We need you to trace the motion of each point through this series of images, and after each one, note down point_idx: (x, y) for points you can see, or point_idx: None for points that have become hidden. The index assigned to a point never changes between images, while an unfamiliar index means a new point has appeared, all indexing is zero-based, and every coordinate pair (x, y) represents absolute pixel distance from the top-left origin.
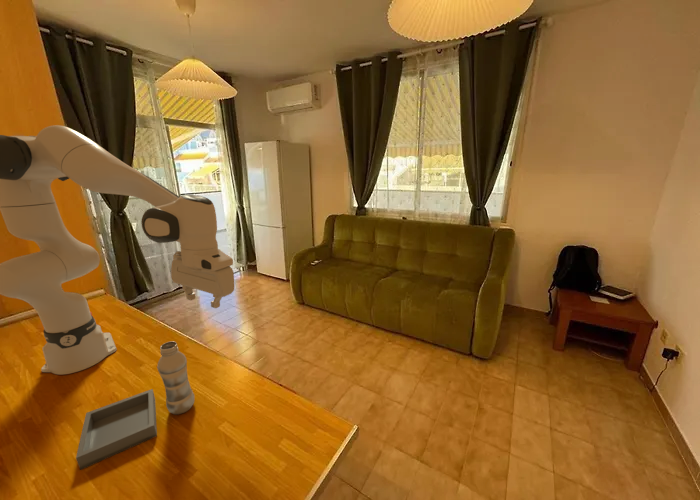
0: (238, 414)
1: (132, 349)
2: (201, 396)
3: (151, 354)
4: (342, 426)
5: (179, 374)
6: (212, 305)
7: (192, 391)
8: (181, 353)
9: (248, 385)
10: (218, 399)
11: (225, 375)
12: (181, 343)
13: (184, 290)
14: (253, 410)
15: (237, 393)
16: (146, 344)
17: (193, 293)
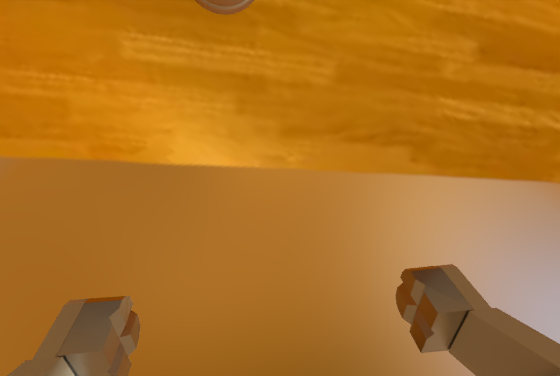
0: (47, 32)
1: (553, 85)
2: (213, 37)
3: (486, 94)
4: None
5: None
6: (90, 316)
7: (202, 1)
8: None
9: (130, 130)
10: (157, 50)
11: (224, 129)
12: (441, 162)
13: (544, 343)
14: (23, 64)
15: (129, 93)
16: (530, 116)
17: (431, 344)
